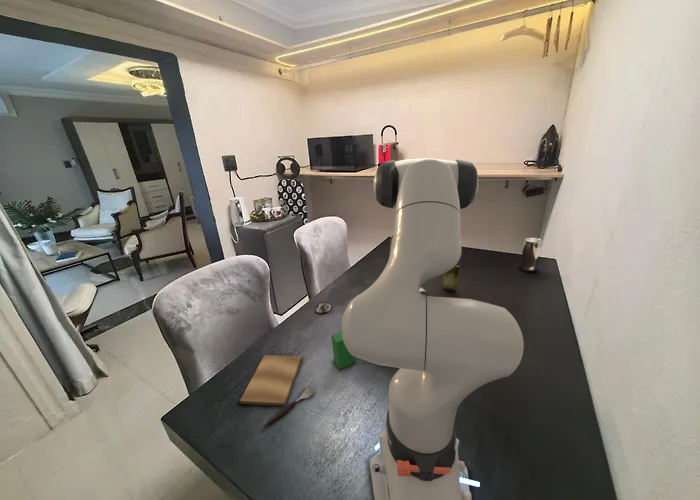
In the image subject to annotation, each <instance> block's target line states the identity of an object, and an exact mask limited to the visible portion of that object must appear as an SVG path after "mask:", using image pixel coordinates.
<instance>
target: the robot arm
mask: <svg viewBox="0 0 700 500" xmlns="http://www.w3.org/2000/svg"><path fill="white" fill-rule="evenodd" d="M372 189H373V194H374V197H375V200H376V201H377V203H378V204H379V205H380V206H382V207H384V208H388V209H394V208H395V211H394V226H393V234H392V236H391V238H390V240H389V244H388V249H387V255H386V262H385V267H384V269H383V271H382V272H381V274H380V275H379V276H378V278H377V279H376V280H375V281H374V282H373V283H372V284H371V285H370V286H369V287H368V288H367V289H365V290H364V291H362V292H361V293H360V294H358V295H356V296H354V298H352V300H351V301H350V302H349V303H348V304H347V305H346V308H345V309H344V310H343V311H344V312H343V313H342V318H341V324H340V332H341V333H342V338H343V341H344V344H345V346H346V348H347V350H348V351H349V353H350V354H351V355H352V356H354V358H357V359H359V360H362V361H365V362H368V363H371V364H374V365H378V366H382V367H389V368H395V369H398V370H397V371H396V372H395V373H394V375H393V376H392V378H391V380H390V382H389V385H388V409H387V413H386V417H385V428H384V429H383V430H382V431H381V432H380V434H379V436H378V443H377V444H376V445H375V446H374V450H375V451H378V452H377V453H375V455H373V456H372V457H371V458H370V460H369V471H370V478H371V484H372V491H373V498H374V500H473V498H472V492H471V491H470V486H474V487H478V488H479V487H480V485H481V484H480V482H479V481H476V480H473V479H469V471H468V468H467V466H466V463H465V461H463V460H460V459H459V444H460V440H459V439H458V438H457V433H456V425H455V420H456V415H457V413H458V408H459V406H460V404H461V403H462V402H463V401H464V400H465V399H466V398H467V397H468V396H469V395H471V394H472V393H473V392H474V391H476V390H478V389H479V388H480V387H482V386H485V385H487V384H488V383H491V382H493V381H497V380H501V379H504V378H507V377H510V376H512V374H514V372H516V370H517V369H518V367H519V365H520V364H521V361H522V358H523V355H524V350H525V349H524V348H525V344H524V343H525V342H524V337H523V336H524V335H523V332H522V330H521V327H520V325H519V323H518V321H517V320H516V319H515V317H514V316H513V314H511V312H510V311H509V310H507V308H505V307H504V306H499V305H497V304H492V303H489V302H485V301H481V300H476V299H472V298H465V297H463V298H462V297H449V296H448V297H447V296H435V295H434V296H433V295H430V293H429V292H428V291H426V290H425V289H424V288H423V287H422V286H423V285H424V284H425V283H426V282H428V281H429V280H431V279H434V278H436V277H440V276H442V275H443V274H444V275H445V273H446V272H448V271H449V270H451V271H452V268H454V267H455V268H456V266H457V265H458V263H459V262H460V260H461V257H462V253H463V252H462V222H461V219H462V217H461V210H462V209H467V207H469V206H470V205H471V204H472V203H473V202H474V200H475V198H476V195H477V192H478V189H479V176H478V170H477V167H476V166H475V164H474V163H473V162H471V161H468V160H463V159H456V160H450V159H439V158H434V157H426V158H424V157H423V158H409V159H402V160H401V159H400V160H396V159H391V160H387V161H384V162H382V163H381V164H379V166H378V167H377V169H376V172H375V174H374V177H373V181H372ZM376 470H377V471H376Z"/></svg>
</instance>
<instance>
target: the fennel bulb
mask: <svg viewBox="0 0 700 500" xmlns="http://www.w3.org/2000/svg"><path fill="white" fill-rule="evenodd" d="M460 269H461V266H460V265H456V266H455V267H454V268H452V269H451V270H449V271H448V272H446V273H444V275H443V279H442V286H443V288H444V289H445V290H446V291H451V292H453V291H456V290H457V288H458V286H459V279H460Z"/></svg>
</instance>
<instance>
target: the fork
mask: <svg viewBox="0 0 700 500" xmlns="http://www.w3.org/2000/svg"><path fill="white" fill-rule="evenodd" d="M319 384H320V382H318V381H316V379H315V378H313V379H312V381H311V382H310V383H309V384H308V386H307V387H306V388H305V390H303V392H302V393H301V395H300V396H299V397H298V398H297V399H296V400H293V402H290V403H289V404H288V405H285V406H284V408H282V409H281V410H279V412H278V413H276V415H274V416H273V417H272V418H271V419H269V421H268V422H266V423H265V424H264V425H263V426H262V428H263V429H264V428H265V427H267V426H269V425H270V424H272V423H274V422H275V421H276V420H277V419H279V418H280V417H282V416H283V415H285V414H286V413H287V412H288V411H290V409H291V408H292V407H294V406H295V405H296V404H297V403H298V402H299V401H300V400H306V399H309V398H311V396H312V395H313V394H314V393H315V391H316V389H317V387H318V386H319Z"/></svg>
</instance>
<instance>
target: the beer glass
mask: <svg viewBox="0 0 700 500" xmlns="http://www.w3.org/2000/svg"><path fill="white" fill-rule="evenodd" d="M542 243H543V240H542V239H541V238H537V237H526V238H524V242H523V245H522V249H521V250H522V251H521V254H522V261H521V263H520V267H519V269H520V270H521V271H522V272H527V273H533V272H535V271H536V264H537V260H538V259H539V256H540V253H541V249H542Z"/></svg>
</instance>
